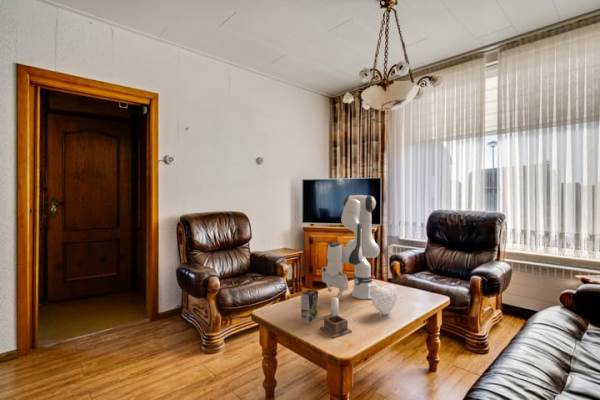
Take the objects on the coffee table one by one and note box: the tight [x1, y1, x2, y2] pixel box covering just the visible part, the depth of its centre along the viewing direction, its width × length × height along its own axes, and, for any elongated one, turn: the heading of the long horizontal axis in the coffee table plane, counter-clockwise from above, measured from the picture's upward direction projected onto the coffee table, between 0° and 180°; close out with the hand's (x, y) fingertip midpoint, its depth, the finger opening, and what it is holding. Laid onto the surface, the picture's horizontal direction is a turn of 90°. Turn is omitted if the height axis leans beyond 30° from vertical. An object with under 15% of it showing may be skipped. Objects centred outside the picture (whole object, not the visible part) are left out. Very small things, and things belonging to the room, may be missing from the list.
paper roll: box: [330, 296, 339, 316], centre depth 175 cm, size 4×4×10 cm
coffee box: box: [300, 289, 319, 325], centre depth 169 cm, size 9×6×16 cm
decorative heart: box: [371, 284, 398, 316], centre depth 177 cm, size 18×11×17 cm, turn 122°
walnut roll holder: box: [319, 314, 353, 339], centre depth 156 cm, size 12×12×6 cm
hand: (334, 293), depth 175 cm, fingers open, 8 cm apart
